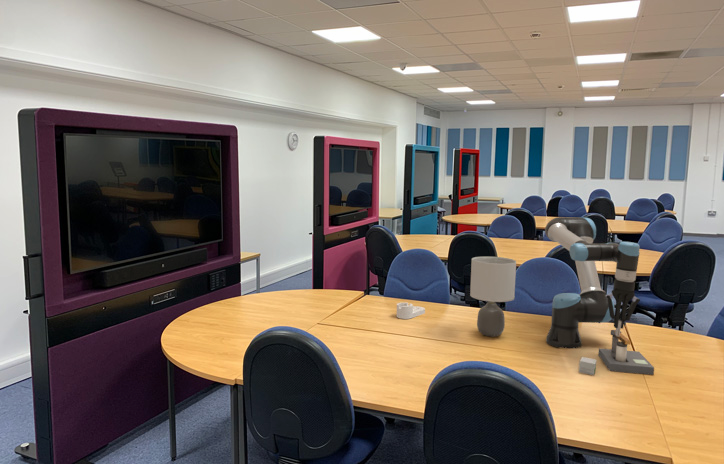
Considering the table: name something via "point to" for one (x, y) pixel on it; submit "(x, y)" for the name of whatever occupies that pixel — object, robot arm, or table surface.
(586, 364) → the small box
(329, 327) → the table surface
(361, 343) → the table surface
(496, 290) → the lamp
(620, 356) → the plug
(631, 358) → the socket plate
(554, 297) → the robot arm
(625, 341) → the clip
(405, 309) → the bracket
